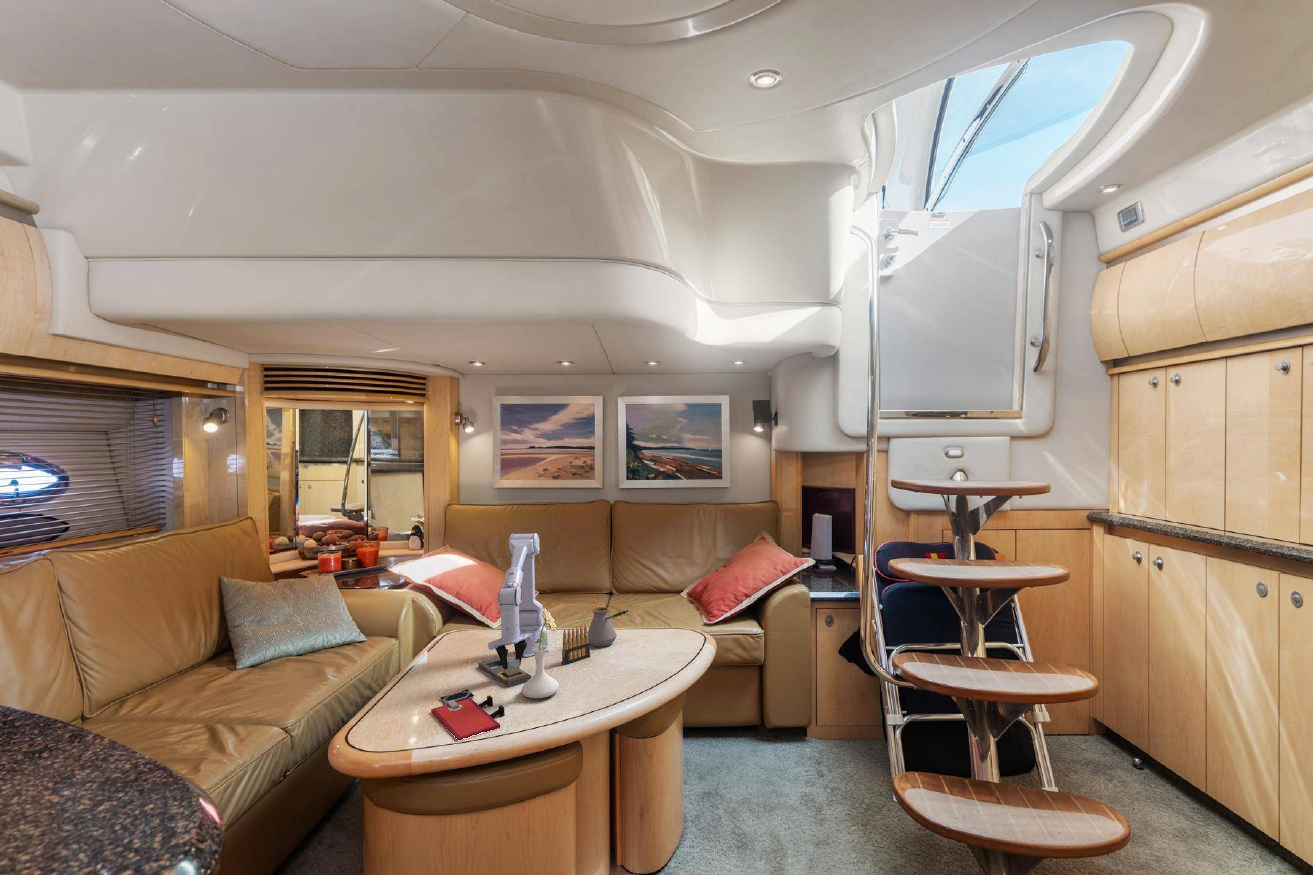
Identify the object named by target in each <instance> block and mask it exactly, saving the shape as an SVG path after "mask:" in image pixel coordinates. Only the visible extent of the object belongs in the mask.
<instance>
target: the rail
mask: <svg viewBox="0 0 1313 875" xmlns="http://www.w3.org/2000/svg"><path fill="white" fill-rule="evenodd" d="M497 665H498V666H497ZM477 667H478V668H479V669H480V670H481V671H483V672H484V673H486V674H487V675H489V676H491V677H492V678H493V679H495V680H496V681H497V682H500V683H501V684H502V685H503V686H505V687H507V688H508V689H509V688H512V687H516V686H519V685H522V684H523V685H524V684H525V683H526V682H527V681H528V680H529V679H530V678H532V677H533V675H531V674H529V673H527V672H526V671H524V670H523V669H521V668H520V675H517V676H514V677H510V678H506V677H505V676H503V667H502V663H501V660H500V657H499V656H498V657H494V658H490V659H486V660H484V661H479V662H478V666H477Z"/></svg>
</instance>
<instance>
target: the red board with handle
mask: <svg viewBox="0 0 1313 875" xmlns="http://www.w3.org/2000/svg"><path fill="white" fill-rule="evenodd" d="M473 697H476V695H475V694H474V693H472V691H470V690H469V689H464V690H461V691H457V692H453V693H450V694H446V695H442V696H440V697H439V698H440V699H441V700H442V701H443V702H444V703H445V704H444V705H441V706H437V707H435V708H432V709H431V710H430V711H431V713H432V715H433V714H434V717H435V716H436V717H435V718H436V719H437V720H438V719H439V720H438V721H439V722H440V723H441V725H443V724H444V725H443V726H444V728H445V727H447V729H448V730H449V731H450V732H451V733H452V734H453V735H454V736H455V737H454V736H453V735H452V734H451V733H450V732H449V731H448V730H447V729H446V730H447V731H448V732H449V733H450V734H451V735H452V736H453V737H454V738H455V739H456V738H457V740H461V739H463V738H468V737H470V736H472V735H477V734H479V733H481V732H486V733H488V732H487V731H489V732H491V731H490V730H492V731H495V730H498V729H500V728H501V724H500V723H499V722H498V721H497V720H496V719H495V718H496V717H497V716H500V717H501V718H503V717H505V707H504V706H503V705H502V704H501V705H498V706H497V707H498V709H496V710H495V711H493V712H491V713H490V714H489V713H488V712H487V711H486V710H485V709H483V708H484V707H486V706H488V707H489V708H492V707H494V701H493V697H492V696H491V695H486V699H485V700H484V701H482V702H480V703H479V704H478V703H477V702H476V701H475V700H474V699H472V698H473ZM502 716H503V717H502ZM497 728H498V729H497ZM477 736H478V735H477ZM468 739H469V738H468ZM457 740H456V741H457Z"/></svg>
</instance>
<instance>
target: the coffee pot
mask: <svg viewBox="0 0 1313 875" xmlns="http://www.w3.org/2000/svg"><path fill="white" fill-rule="evenodd" d="M609 611H610V609H609V608H608V607H605V606H603V607H595V608H592V610H591V612H592V613H593V617H592V620H591V622H590V626H589V627H588V629H587V632H588V643H589V645H591V646H592V647H596V648H603V647H605V648H606V647H609V646H612V643H613V642H614V641H615V640H616V639H617V636H618V635H617V632H616V629H615V628H614V626H613V624H612V621H611V619H614V618H616V617H620V616H622V615H626V616H627V617H630V616H631V614H632V612H631V611H630V610H629V609H625V610H622V611H619V612H617V613H615V614H613V615H608V614H609ZM628 612H629V613H630V614H629V615H628V614H627V613H628Z"/></svg>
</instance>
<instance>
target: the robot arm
mask: <svg viewBox="0 0 1313 875" xmlns="http://www.w3.org/2000/svg"><path fill="white" fill-rule="evenodd" d="M508 548H509V550H510V553H511V554H512V555H511V561H510V568H508V569H506V571H505V576H504V580H503V584H502V587H501V588H500V589H498V592H497V604H498V610H499V612H500V627H501V632H500V633H501V634H500V637H501V638H497V639H495V640H493V641H490V642H488V643H487V648H488V650H490V651H493V650H494V649H495V651H496V653H497V655H498V657H500V660H501V663H502V665H501V666H502V667H503V669H505V670H506V669H507V658H508V655H509V654H508V652H509V649H507V647H506V646H510V645H511V646H512V645H513V647H514V652H515V653H514V654H515V655H514V656H515V657H517V658H518V659H520V666H521V664H522V659H523V657H524V658H528V657H531V656H535V655H534V653H533V652H532V651H531V648H533V647H535V646H539V643H535V642H536V641H537V639H540V634H541V630H542V627H543V625H544V623H545V620H544V618H543V615H542V609H544V606H543V604H542V603H541V602H539V600H536V585H535V584H536V578H535V558H536V556H537V555H539V554H540V537H539V534H538V533H537V532H534V533H511V534H510V536H509V538H508ZM542 632H544V633H546V635H547V636H548V630H547V628H546V625H545V626H544V628H543V631H542ZM541 640H543V641H542V642H541V643H540V646H547V647H548V642H549V641H548V638H547V639H546V640H544V639H542V637H541ZM549 651H550V650H549V648H548V649H547V650H546V652H549ZM546 652H545V653H546Z"/></svg>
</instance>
